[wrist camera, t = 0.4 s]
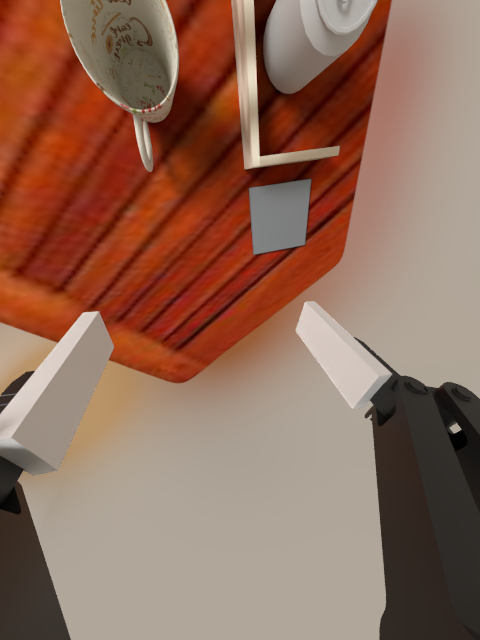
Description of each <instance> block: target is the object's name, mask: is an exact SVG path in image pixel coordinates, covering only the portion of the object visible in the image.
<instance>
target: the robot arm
mask: <svg viewBox="0 0 480 640" xmlns="http://www.w3.org/2000/svg"><path fill="white" fill-rule="evenodd" d="M296 332H297V334H298V335H299V336H300V338H301V339H302V340H303V342H304V343H305V345H306V346H307V348H308V349H309V350H310V351H311V353H312V354H313V356H314V357H315V359H316V360H317V361H318V363H319V364H320V365H321V367H322V368H323V369H324V371H325V372H326V373H327V375H328V376H329V378H330V379H331V380H332V382H333V383H334V385H335V386H336V387H337V389H338V390H339V392H340V393H341V394H342V396H343V397H344V398H345V400H346V401H347V402H348V404H349V405H350V406H351V408H352V409H356V408H361V407H364V406H365V405H366V404H367V403H368V402H369V401H371V402H372V403H373V404H374V405H373V406H372V407H371V408H370V410H369V411H368V412H367V413H366V414H365V418H368V417H369V415H371V414H372V418H371V419H370V420H371V421H372V425H373V435H374V449H375V460H376V461H375V462H376V472H377V473H376V475H377V486H378V499H379V512H380V524H381V537H382V550H383V562H384V575H385V586H386V608H385V611H384V613H383V615H382V618H381V622H380V640H480V399H479V398H478V397H477V396H476V395H475V394H474V393H472V392H471V391H469V390H468V389H467V388H465V387H463V386H461V385H458V384H455V383H452V382H446V383H444V384H443V385H441V386H440V387H439V388H434V387H427V386H425V385H424V384H423V383H421V382H420V381H418V380H416V379H414V378H412V377H408V376H400V375H399V374H398V373H397V372H396V371H394V370H393V369H392V368H391V367H390V366H389V365H388V364H387V363H386V362H384V361H383V360H382V359H381V358H380V357H379V356H378V355H376V353H374V351H372V350H370V348H369V347H368V346H367V345H366V344H365V343H364V342H362V341H360V340H359V339H357V338H355V337H352V336H351V335H350V334H349V333H348V332H347V331H346V330H345V329H344V328H343V327H342V326H340V325H339V324H338V323H337V322H336V321H335V320H334V319H333V318H332V317H331V316H330V315H328V313H327V312H325V311H324V310H323V309H322V308H321V307H320V306H319V305H318V304H317V303H316V302H314V301H308V302H305V303H304V306H303V310H302V313H301V316H300V319H299V322H298V325H297V328H296ZM113 349H114V345H113V343H112V341H111V338H110V336H109V334H108V331H107V329H106V327H105V324H104V322H103V320H102V318H101V315H100V313H99V312H83V313H82V315H81V316H80V317H79V318H78V319H77V321H76V322H75V323H74V324H73V326H72V327H71V328H70V329H69V330H68V332H67V333H66V334H65V335H64V337H63V338H62V339H61V340H60V342H59V343H58V344H57V345H56V346H55V348H54V349H53V350H52V351H51V353H50V354H49V355H48V356H47V357H46V359H45V360H44V361H43V362H42V364H41V365H40V366H39V367H38V369H37V370H36V371H31V372H26V373H25V374H23V375H22V376H20V377H19V378H18V379H16V380H15V381H13V382H12V383H11V384H10V385H9V386H8V387H7V388H6V390H5V391H4V392H3V393H2V394H1V397H0V640H71V639H70V636H69V633H68V630H67V626H66V623H65V620H64V617H63V614H62V611H61V608H60V604H59V601H58V598H57V595H56V592H55V589H54V586H53V582H52V580H51V576H50V573H49V570H48V567H47V564H46V561H45V558H44V554H43V551H42V548H41V545H40V542H39V539H38V536H37V532H36V529H35V526H34V523H33V520H32V517H31V514H30V511H29V508H28V505H27V502H26V498H25V495H24V492H23V489H22V486H21V484H20V483H19V482H18V481H17V480H18V478H19V477H20V475H21V473H22V472H23V470H24V471H26V472H28V473H29V474H31V475H38V474H43V473H47V472H53V471H57V470H58V469H59V467H60V465H61V463H62V461H63V458H64V456H65V454H66V452H67V450H68V447H69V445H70V443H71V441H72V439H73V437H74V434H75V432H76V430H77V428H78V426H79V423H80V421H81V419H82V417H83V415H84V412H85V410H86V408H87V406H88V404H89V401H90V399H91V397H92V395H93V393H94V390H95V388H96V386H97V384H98V382H99V379H100V377H101V375H102V373H103V371H104V368H105V366H106V364H107V361H108V360H109V357H110V355H111V353H112V351H113ZM456 423H458V425H459V426H460V427H461V429H462V430H460V431H459V432H457V433H455V434H454V433H453V432H452V431H451V430H450V428H449V427H451V426H452V425H454V424H456Z"/></svg>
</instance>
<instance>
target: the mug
mask: <svg viewBox="0 0 480 640" xmlns="http://www.w3.org/2000/svg"><path fill="white" fill-rule="evenodd" d="M60 3H61V9H62V14H63V18H64V23H65V26H66V29H67V33H68V35H69V38H70V41H71V43H72V46H73V48H74V50H75V52H76V54H77V56H78V58H79V60H80V62H81V64H82V65H83V67H84V69H85V70H86V72H87V73H88V75H89V76H90V78H91V79H92V80H93V82H94V83H95V84H96V85H97V86H98V88H99V89H100V90H101V91H102V92H103V93H104V94H105V95H106V96H107V97H108V98H109V99H110V100H112V101H113V102H114V103H116V104H117V105H118V106H120V107H121V108H123V109H125V110H127V111H128V112H130V113H132V114H133V119H134V125H135V131H136V137H137V142H138V147H139V151H140V154H141V158H142V161H143V163H144V166H145V168H146V169H147V171H149V172H151V171H152V169H153V157H152V145H151V140H150V134H149V129H148V125H147V121H148V122H152V123H156V122H160V121H162V120H164V119H165V118H166V117H167V115H168V114H169V112H170V109H171V106H172V102H173V98H174V93H175V89H176V84H177V79H178V70H179V52H178V43H177V37H176V32H175V27H174V23H173V20H172V16H171V14H170V11H169V8H168V5H167V3H166V0H60ZM141 119H143V127H142V121H141ZM143 130H144V134H143Z"/></svg>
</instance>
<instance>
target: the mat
mask: <svg viewBox="0 0 480 640" xmlns="http://www.w3.org/2000/svg"><path fill="white" fill-rule="evenodd" d="M310 186H311V179H306V180H299V181H293V182H286V183H279V184H273V185H266V186H259V187H253V188H249V199H250V213H251V228H252V242H253V254H254V255H255V254H260V253H265V252H270V251H275V250H281V249H286V248H291V247H296V246H302V245H305V238H306V228H307V217H308V207H309V197H310Z"/></svg>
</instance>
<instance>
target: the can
mask: <svg viewBox="0 0 480 640" xmlns="http://www.w3.org/2000/svg"><path fill="white" fill-rule="evenodd" d="M377 1H378V0H276V2H275V4H274V6H273V9H272V11H271V13H270V15H269V18H268V20H267V24H266V28H265V33H264V41H263V56H264V62H265V68H266V71H267V74H268V76H269V79H270V81H271V82H272V84H273V85H274V86H275V88H276V89H277V90H279V91H281V92H282V93H285V94H293V93H295V92H297V91H299V90H301V89H302V88H303V87H304V86H305V85H307V84H308V83H309V82H310V81H311V80H313V79H314V78H315V77H316V76H317V75H318V74H320V73H321V72H322V71H323V70H324V69H325V68H327V67H328V66H329V65H330V64H331V63H333V62H334V61H335V60H336V59H337V58H338V57H340V56H341V55H342V54H343V53H344V52H345V51H347V50H348V49H349V48H350V47H351V46H352V45H353V43H354V42H355V41H356V40H357V39H358V38H359V36H360V34H361V33H362V31H363V29H364V28H365V26H366V24H367V23H368V20H369V18H370V15H371V12H372V10H373V9H374V7H375V5H376V3H377Z"/></svg>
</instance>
